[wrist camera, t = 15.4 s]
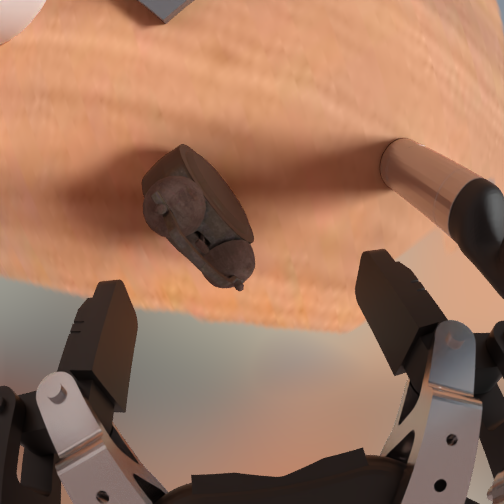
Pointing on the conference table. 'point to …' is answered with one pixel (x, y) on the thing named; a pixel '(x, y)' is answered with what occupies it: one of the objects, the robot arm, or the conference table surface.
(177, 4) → the slider console
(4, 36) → the cylinder
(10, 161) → the conference table surface
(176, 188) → the brown backpack
